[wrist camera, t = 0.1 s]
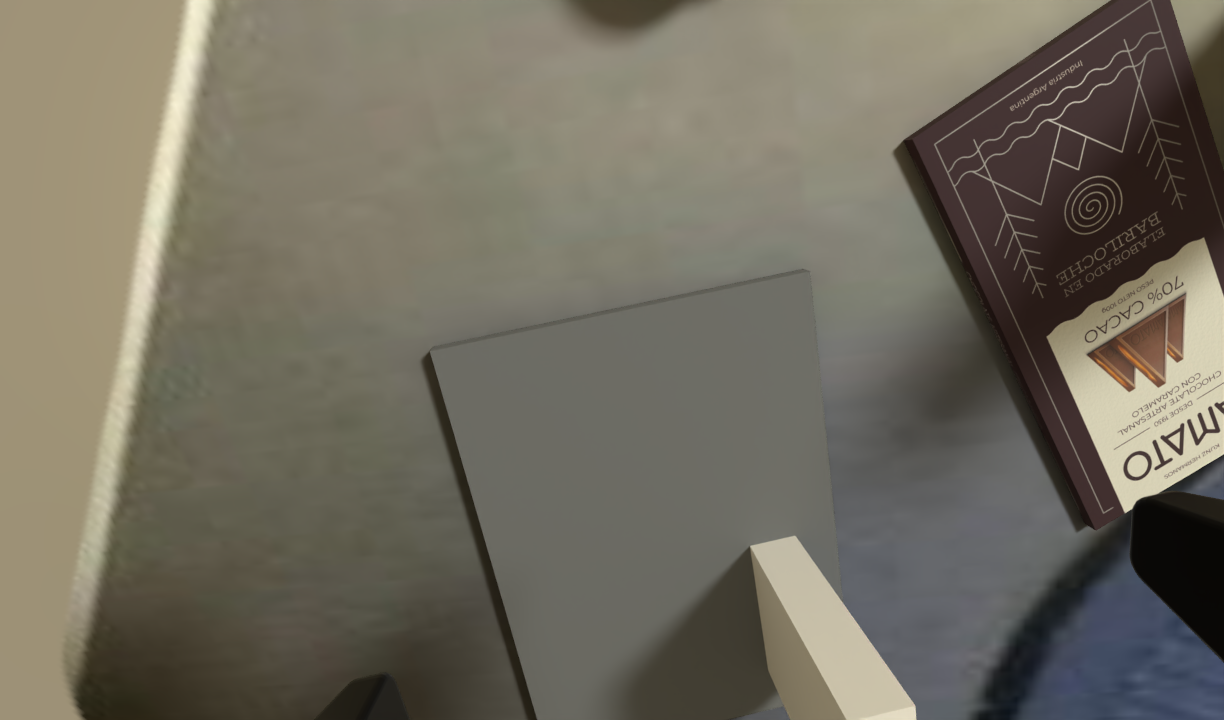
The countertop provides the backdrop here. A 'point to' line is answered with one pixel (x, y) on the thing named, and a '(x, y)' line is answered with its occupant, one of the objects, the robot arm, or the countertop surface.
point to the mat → (646, 492)
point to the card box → (819, 643)
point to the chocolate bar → (1096, 247)
